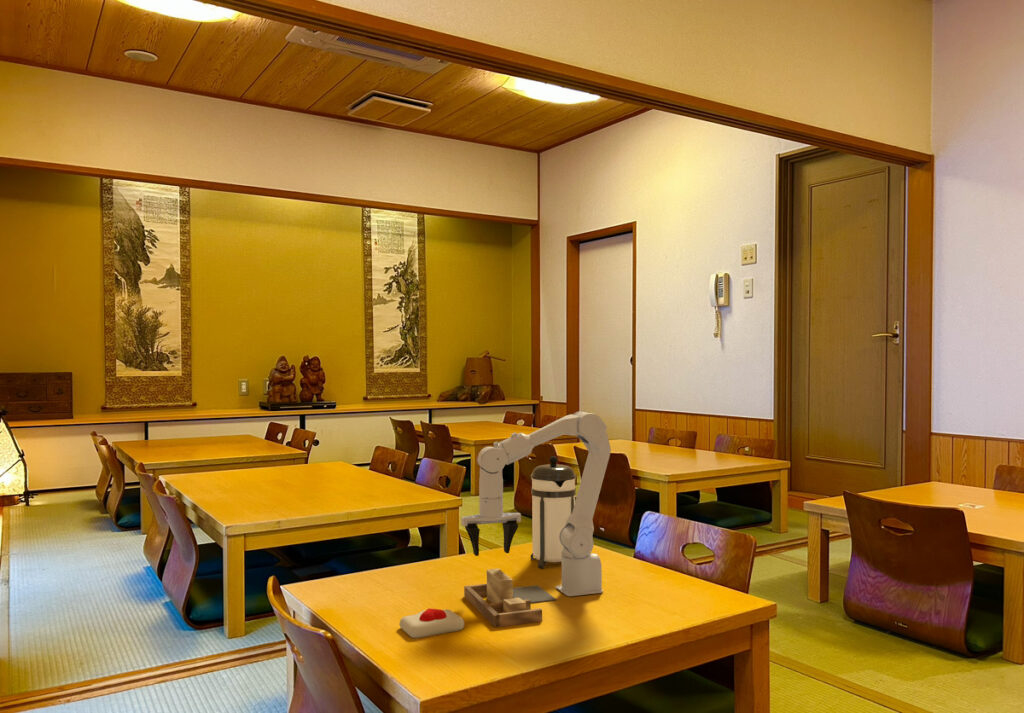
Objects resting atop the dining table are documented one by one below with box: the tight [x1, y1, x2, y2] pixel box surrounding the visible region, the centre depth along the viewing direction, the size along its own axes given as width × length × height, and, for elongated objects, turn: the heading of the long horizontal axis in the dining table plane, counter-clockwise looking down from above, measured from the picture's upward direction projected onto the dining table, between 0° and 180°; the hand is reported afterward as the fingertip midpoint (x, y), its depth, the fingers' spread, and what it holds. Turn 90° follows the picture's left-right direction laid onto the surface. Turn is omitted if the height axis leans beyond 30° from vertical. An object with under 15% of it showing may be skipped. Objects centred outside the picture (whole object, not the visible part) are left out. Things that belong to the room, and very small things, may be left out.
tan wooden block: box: [486, 568, 514, 604], centre depth 179 cm, size 3×10×7 cm, turn 20°
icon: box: [399, 607, 465, 639], centre depth 164 cm, size 12×4×10 cm
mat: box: [513, 584, 557, 604], centre depth 186 cm, size 9×12×1 cm
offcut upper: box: [503, 598, 526, 612], centre depth 170 cm, size 4×4×2 cm
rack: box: [463, 583, 543, 628], centre depth 176 cm, size 11×23×2 cm, turn 20°
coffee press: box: [529, 455, 577, 569], centre depth 217 cm, size 17×16×30 cm
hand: (491, 553), depth 185 cm, fingers open, 7 cm apart
